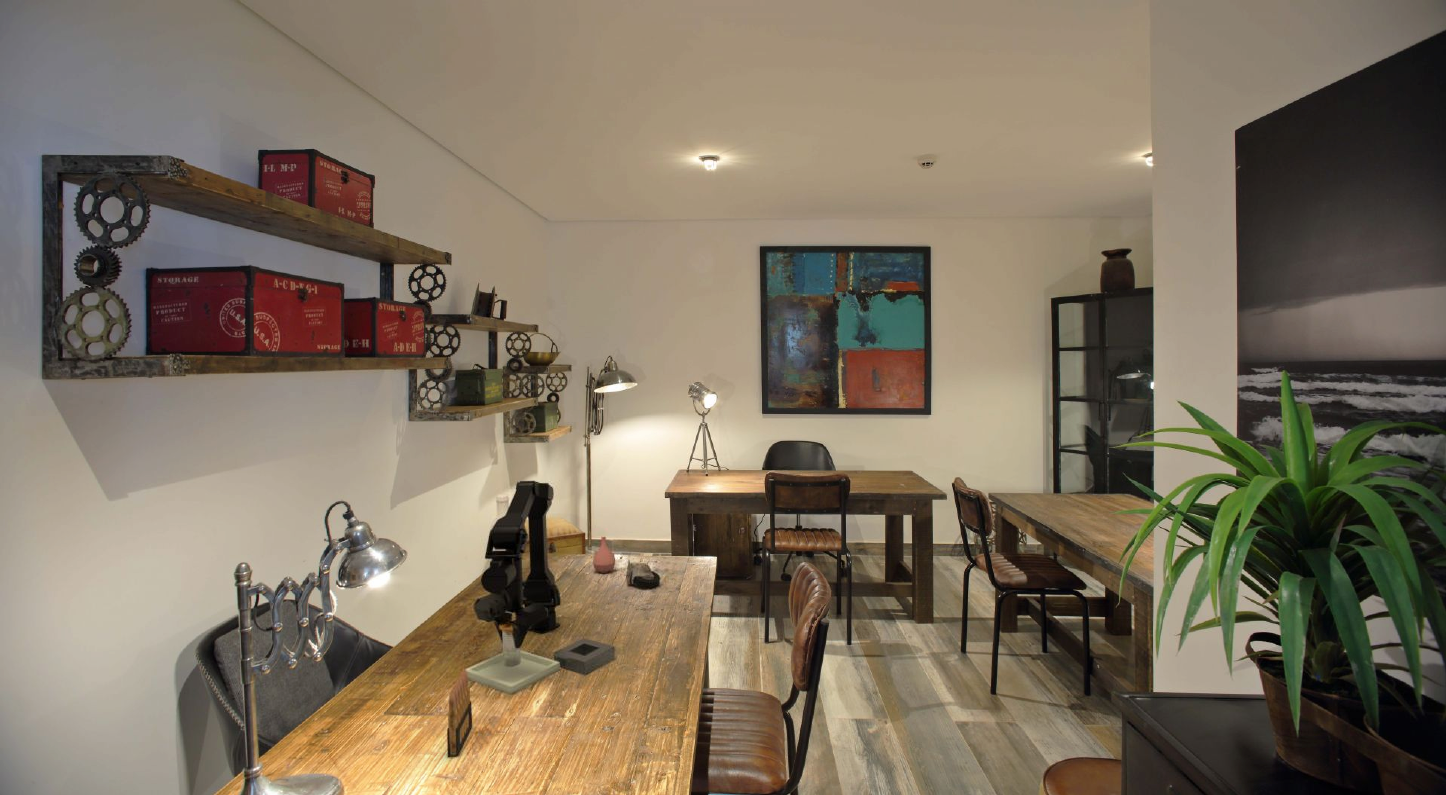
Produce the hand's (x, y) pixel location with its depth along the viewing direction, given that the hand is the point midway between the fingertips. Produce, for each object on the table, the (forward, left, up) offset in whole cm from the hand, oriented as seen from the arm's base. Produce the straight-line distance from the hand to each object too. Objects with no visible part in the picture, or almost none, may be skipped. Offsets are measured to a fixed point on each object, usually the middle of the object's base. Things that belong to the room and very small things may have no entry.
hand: (511, 645), depth 154 cm
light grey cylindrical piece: (0, 0, -4) cm, 4 cm away
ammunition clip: (+14, -24, -7) cm, 29 cm away
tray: (0, 0, -7) cm, 7 cm away
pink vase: (-35, +69, -7) cm, 78 cm away
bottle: (-51, +40, -7) cm, 65 cm away
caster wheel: (-14, +65, -7) cm, 67 cm away
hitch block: (+10, +13, -7) cm, 18 cm away
